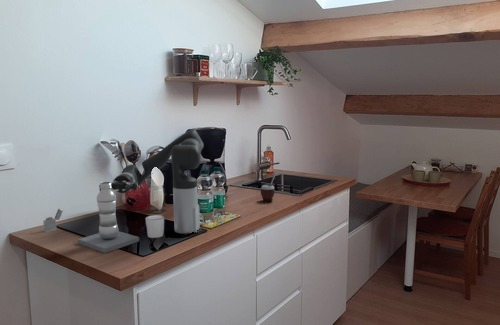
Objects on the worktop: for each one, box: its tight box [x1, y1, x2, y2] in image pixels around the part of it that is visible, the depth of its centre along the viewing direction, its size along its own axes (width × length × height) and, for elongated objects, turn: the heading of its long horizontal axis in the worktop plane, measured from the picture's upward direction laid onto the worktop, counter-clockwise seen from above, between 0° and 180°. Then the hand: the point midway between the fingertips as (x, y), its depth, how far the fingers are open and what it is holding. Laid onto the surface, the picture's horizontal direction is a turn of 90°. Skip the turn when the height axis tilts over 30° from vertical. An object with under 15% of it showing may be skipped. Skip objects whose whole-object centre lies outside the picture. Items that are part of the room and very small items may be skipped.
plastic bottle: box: [96, 181, 119, 239], centre depth 143 cm, size 6×7×20 cm
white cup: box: [145, 214, 165, 239], centre depth 151 cm, size 7×7×7 cm
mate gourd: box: [260, 171, 280, 203], centre depth 202 cm, size 8×8×15 cm
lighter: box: [42, 208, 64, 233], centre depth 158 cm, size 7×2×8 cm, turn 133°
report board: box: [77, 231, 140, 254], centre depth 144 cm, size 16×14×2 cm
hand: (114, 189), depth 155 cm, fingers open, 8 cm apart
